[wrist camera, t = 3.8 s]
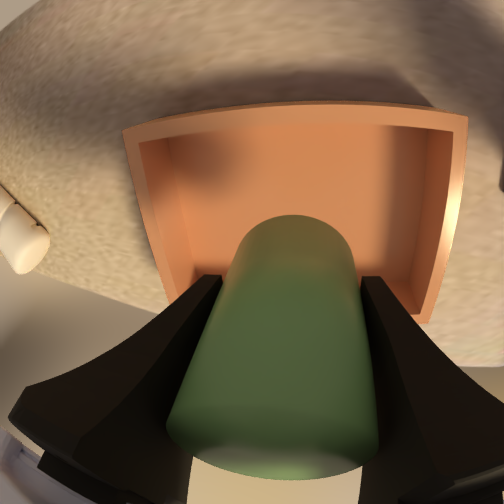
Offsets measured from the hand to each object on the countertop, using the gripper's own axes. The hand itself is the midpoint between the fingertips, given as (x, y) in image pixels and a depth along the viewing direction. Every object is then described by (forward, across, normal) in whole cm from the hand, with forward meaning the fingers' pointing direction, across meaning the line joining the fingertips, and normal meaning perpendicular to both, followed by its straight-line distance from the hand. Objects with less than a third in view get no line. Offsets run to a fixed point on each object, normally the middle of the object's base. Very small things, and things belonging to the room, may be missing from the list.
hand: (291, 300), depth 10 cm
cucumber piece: (+2, 0, 0) cm, 2 cm away
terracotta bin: (+9, 0, 0) cm, 9 cm away
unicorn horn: (+10, +30, -5) cm, 32 cm away
